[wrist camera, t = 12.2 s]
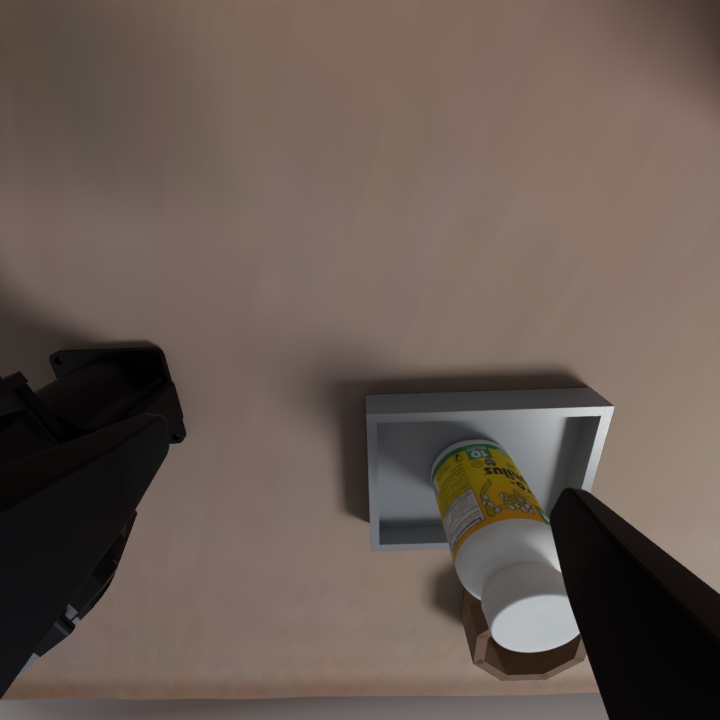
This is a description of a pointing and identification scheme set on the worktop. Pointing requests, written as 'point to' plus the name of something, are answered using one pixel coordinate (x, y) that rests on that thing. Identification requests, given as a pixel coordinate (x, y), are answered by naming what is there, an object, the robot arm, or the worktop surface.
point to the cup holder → (512, 662)
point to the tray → (469, 422)
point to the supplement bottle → (502, 546)
